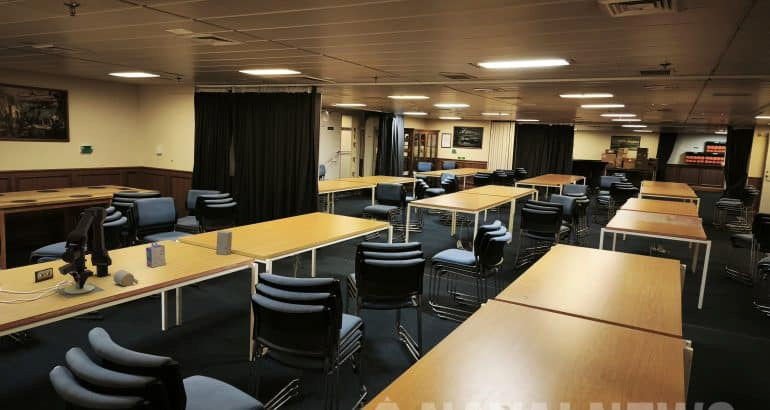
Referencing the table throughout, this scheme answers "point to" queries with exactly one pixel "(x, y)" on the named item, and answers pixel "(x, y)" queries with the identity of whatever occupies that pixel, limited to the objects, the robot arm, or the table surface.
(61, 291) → the rubber mat
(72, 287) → the round lid
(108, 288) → the table surface
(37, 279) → the audio cassette
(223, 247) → the skincare box
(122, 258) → the table surface
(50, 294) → the table surface
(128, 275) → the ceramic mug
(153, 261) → the ink cartridge box
